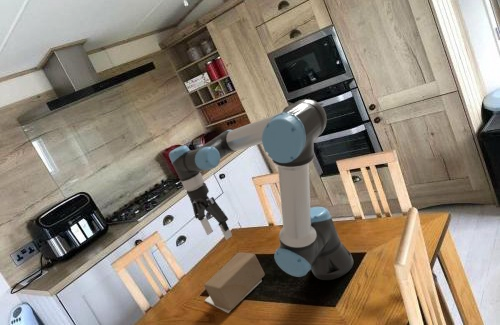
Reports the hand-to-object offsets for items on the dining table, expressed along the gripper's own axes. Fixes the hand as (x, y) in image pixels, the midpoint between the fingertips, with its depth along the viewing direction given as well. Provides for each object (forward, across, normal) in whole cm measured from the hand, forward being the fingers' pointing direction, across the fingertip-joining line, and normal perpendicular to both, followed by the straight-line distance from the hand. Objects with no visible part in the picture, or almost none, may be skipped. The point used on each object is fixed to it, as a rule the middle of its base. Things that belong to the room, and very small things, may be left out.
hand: (219, 235), depth 141 cm
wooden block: (+17, -3, -6) cm, 18 cm away
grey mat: (+22, 0, +5) cm, 23 cm away
